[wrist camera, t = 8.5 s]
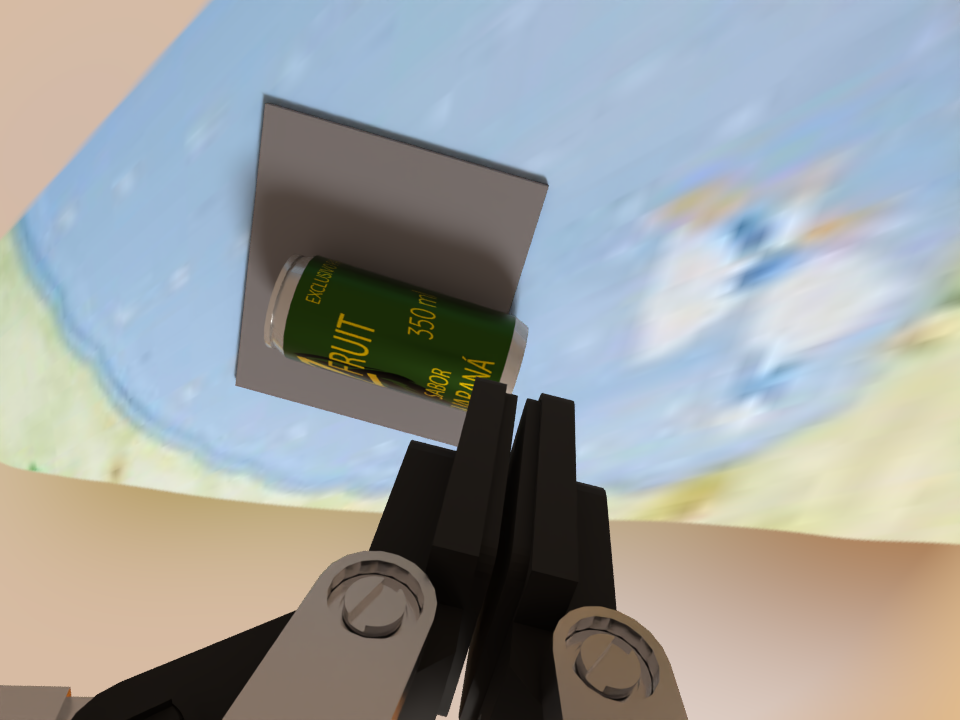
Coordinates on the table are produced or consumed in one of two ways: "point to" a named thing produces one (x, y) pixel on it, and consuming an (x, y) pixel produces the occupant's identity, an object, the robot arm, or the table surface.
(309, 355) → the green soda can
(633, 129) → the table surface
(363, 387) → the mat
